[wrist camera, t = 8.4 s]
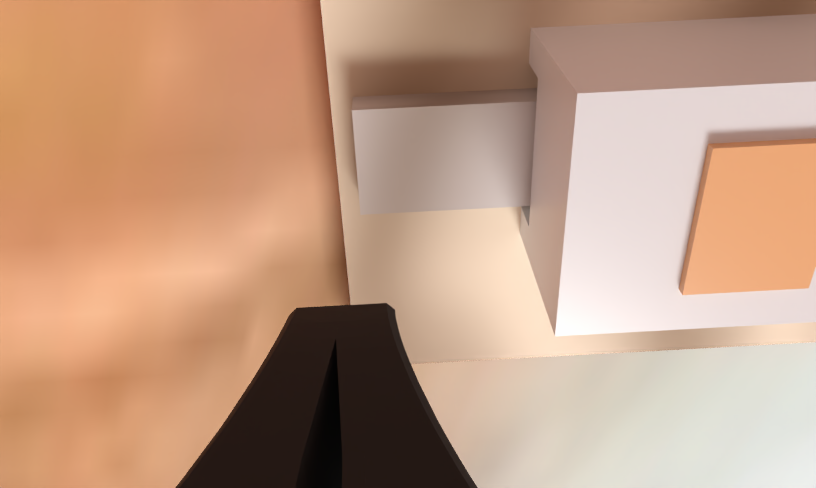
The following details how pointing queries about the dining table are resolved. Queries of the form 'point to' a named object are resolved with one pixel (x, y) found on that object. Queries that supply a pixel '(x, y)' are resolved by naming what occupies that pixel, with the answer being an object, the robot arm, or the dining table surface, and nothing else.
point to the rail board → (470, 169)
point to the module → (674, 174)
